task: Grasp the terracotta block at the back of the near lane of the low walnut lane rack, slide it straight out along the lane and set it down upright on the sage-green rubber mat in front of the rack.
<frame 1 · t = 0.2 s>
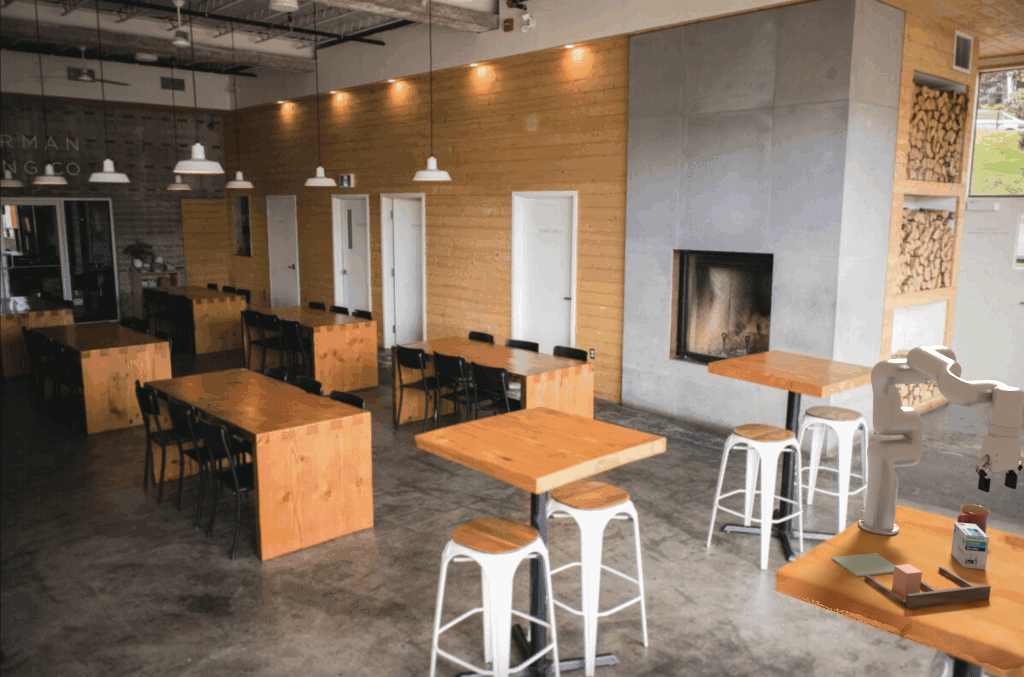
hand: (996, 489, 214), 31 cm above the table, fingers open, 9 cm apart
lane rack: (923, 588, 220), on the table
block: (905, 591, 218), resting in lane rack
light bulb box: (967, 562, 238), on the table
mat: (866, 565, 234), on the table
mug: (968, 539, 255), on the table
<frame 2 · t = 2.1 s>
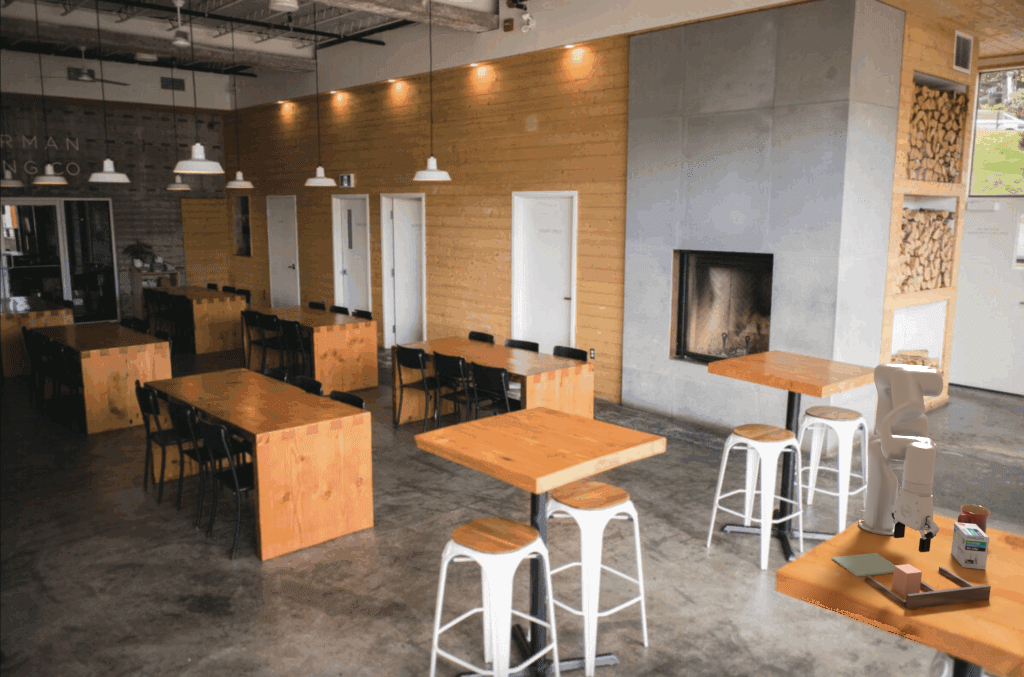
hand: (911, 544, 215), 15 cm above the table, fingers open, 9 cm apart
nothing on the table moved.
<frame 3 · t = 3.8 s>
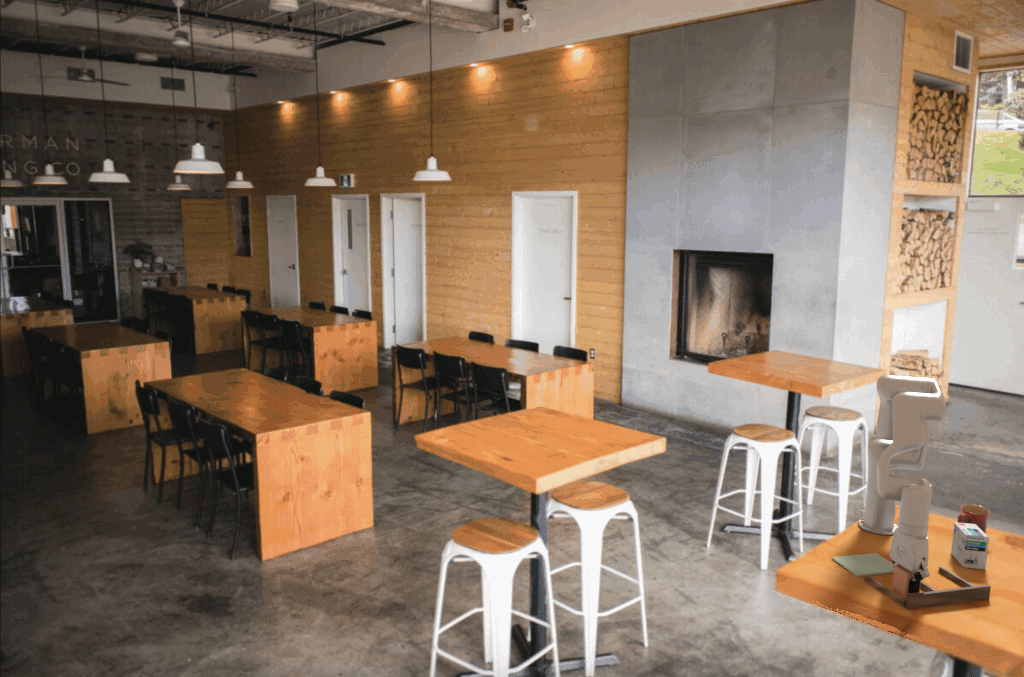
hand: (906, 587, 218), 1 cm above the table, fingers closed on block, 5 cm apart
block: (905, 591, 218), resting in lane rack, touching gripper
everything else where it was.
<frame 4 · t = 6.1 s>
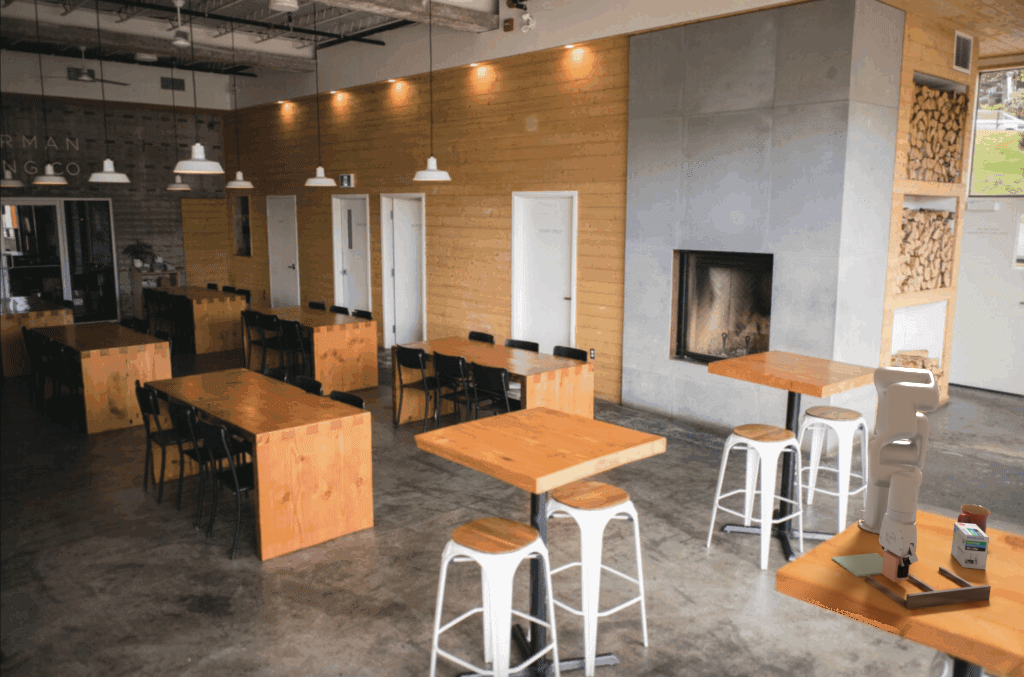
hand: (895, 572, 222), 3 cm above the table, fingers closed on block, 5 cm apart
block: (894, 576, 223), point 2 cm above the table, touching gripper
everything else where it was.
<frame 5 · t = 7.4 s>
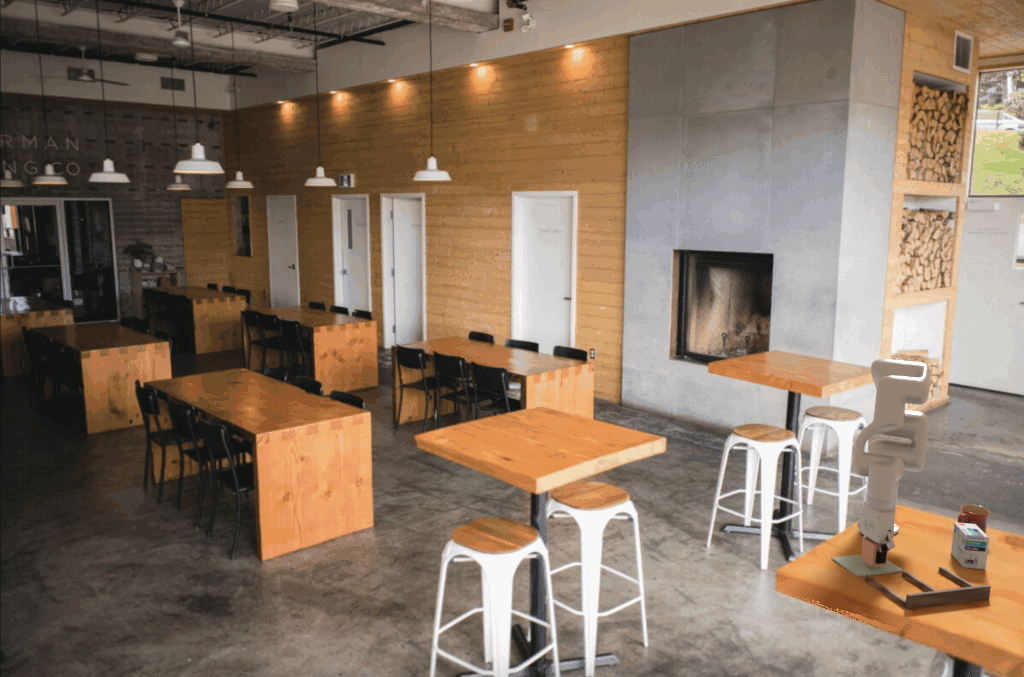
hand: (873, 558, 231), 4 cm above the table, fingers closed on block, 5 cm apart
block: (873, 562, 231), point 2 cm above the table, touching gripper
everything else where it was.
when the fingers open (4 cm above the table, at t = 8.5 s): block drops 2 cm, resting on mat.
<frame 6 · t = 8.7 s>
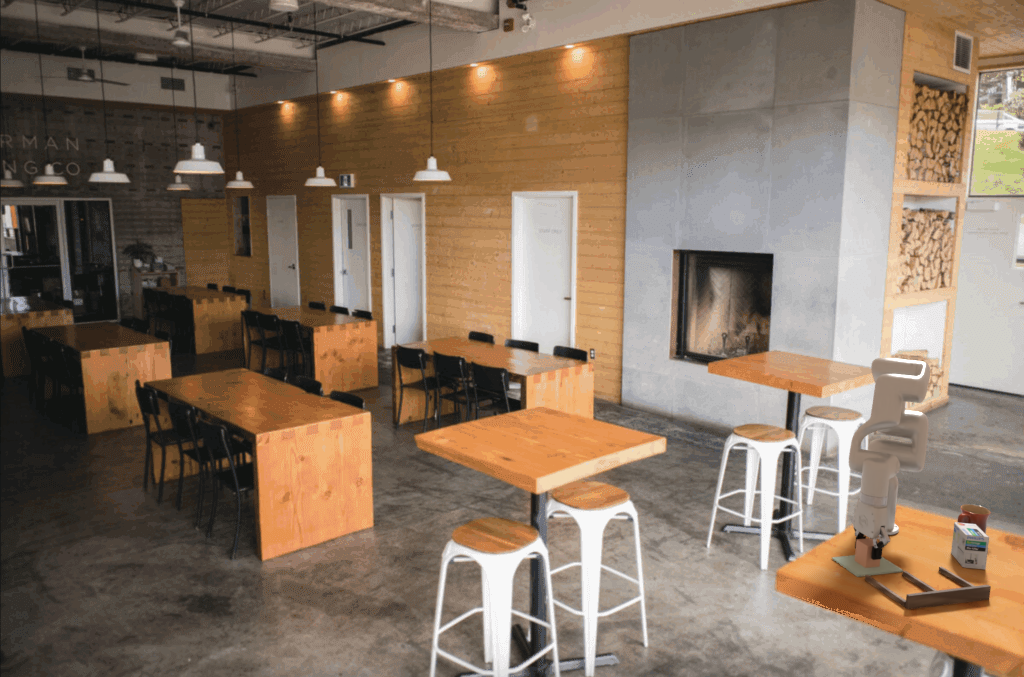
hand: (867, 553, 233), 4 cm above the table, fingers open, 6 cm apart
block: (866, 563, 234), point 1 cm above the table, touching mat
everything else where it was.
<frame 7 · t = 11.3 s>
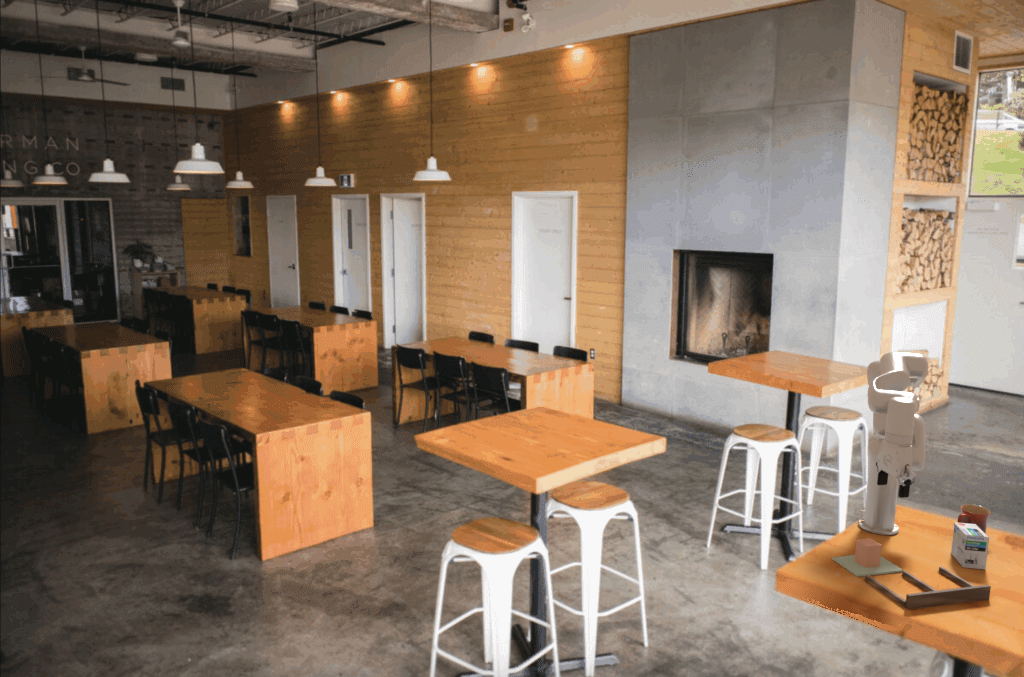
hand: (892, 490, 233), 23 cm above the table, fingers open, 9 cm apart
nothing on the table moved.
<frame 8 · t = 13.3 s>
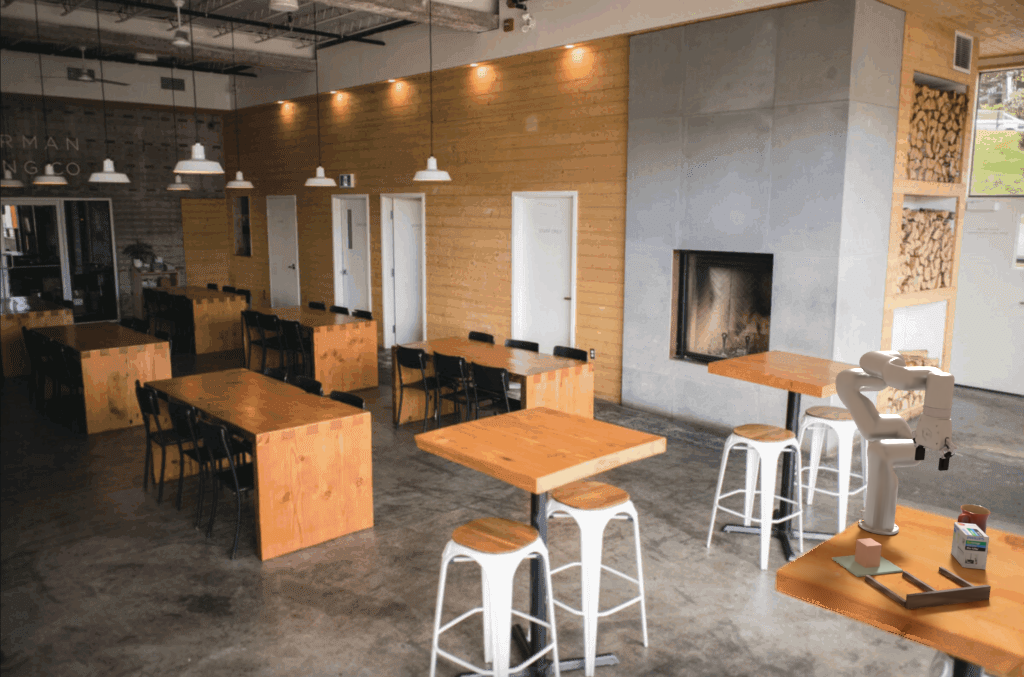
hand: (931, 465, 236), 30 cm above the table, fingers open, 9 cm apart
nothing on the table moved.
at the end: block inside the target area on the mat (0.1 cm from its centre), point 0.6 cm above the mat's base; block tilted 0°; the gripper is holding nothing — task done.
